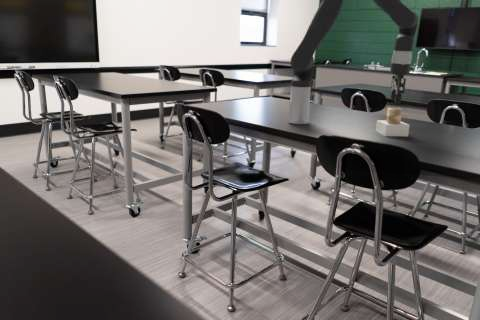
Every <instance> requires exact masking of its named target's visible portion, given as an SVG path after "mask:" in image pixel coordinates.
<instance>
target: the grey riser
mask: <svg viewBox="0 0 480 320" xmlns="http://www.w3.org/2000/svg"><path fill="white" fill-rule="evenodd" d="M409 131H410V124H408V123H406V122H404V121H401V123H400V124H390V123H387V122H386V119H383V120H382V119H377V120H376V124H375V132H377V133H378V134H380V135H382V136H384V137H409Z"/></svg>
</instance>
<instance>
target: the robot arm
mask: <svg viewBox="0 0 480 320" xmlns="http://www.w3.org/2000/svg"><path fill="white" fill-rule="evenodd" d="M343 2H344V0H322V1H321V2H320V5H319V6H318V7H317V10H316V12H315V14H314V15H313V17H312V20H311V22H310V23H309V26H308V28H307V30H306V31H305V35H304V37H303V38H302V40H301V41H300V43H299V45H298V46H297V48H296V50H295V51H294V52H293V54H292V56H291V58H290V67H291V68H292V70H293V74H292V75H293V76H292V78H291V81H290V97H289V98H290V99H289V108H288V110H289V112H288V124H294V125H307V124H309V119H310V117H309V116H310V102H311V89H312V82H313V81H312V80H313V77H314V65H315V59H314V54H315V53H316V50H317V48H318V47H319V45H320V44H321V42H322V41H323V40H324V39H325V38H326V36H327V35H328V34H329V32H330V31H331V29H332V28H333V26H334V25H335V23H336V21H337V20H338V18H339V15H340V12H341V9H342V7H343ZM372 2H373V3H374V4H375V5H376V6H378V8H379V9H380V10H381V11H383V12H384V13H385V14H386V15H387V16H389V17H390V19H391V20H392V21H393V22H394V23H395V24H396V25H397V27H398V32H397V37H396V38H395V41H394V48H393V53H392V56H391V63H390V71H389V74H390V75H392V78H391V83H390V91H391V94H390V101H394V104H396V105H397V104H399V105H400V104H401V103H402V97H403V94H404V93H405V88H406V81H407V78H405V77H404V76H408V75H410V72H411V65H412V58H413V49H414V41H415V36H416V33H417V29H418V24H419V16H418V14H417V13H416V12H415V11H412V10H411V9H410V8H408V7H407V6H406V5H405V4H404V3H403V2H402V0H372Z"/></svg>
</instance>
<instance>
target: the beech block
mask: <svg viewBox="0 0 480 320" xmlns="http://www.w3.org/2000/svg"><path fill="white" fill-rule="evenodd" d="M402 115H403V109H402V108H401V107H387V111H386V119H385V120H386V122H387V123H390V124H400V123H401V122H402Z"/></svg>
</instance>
